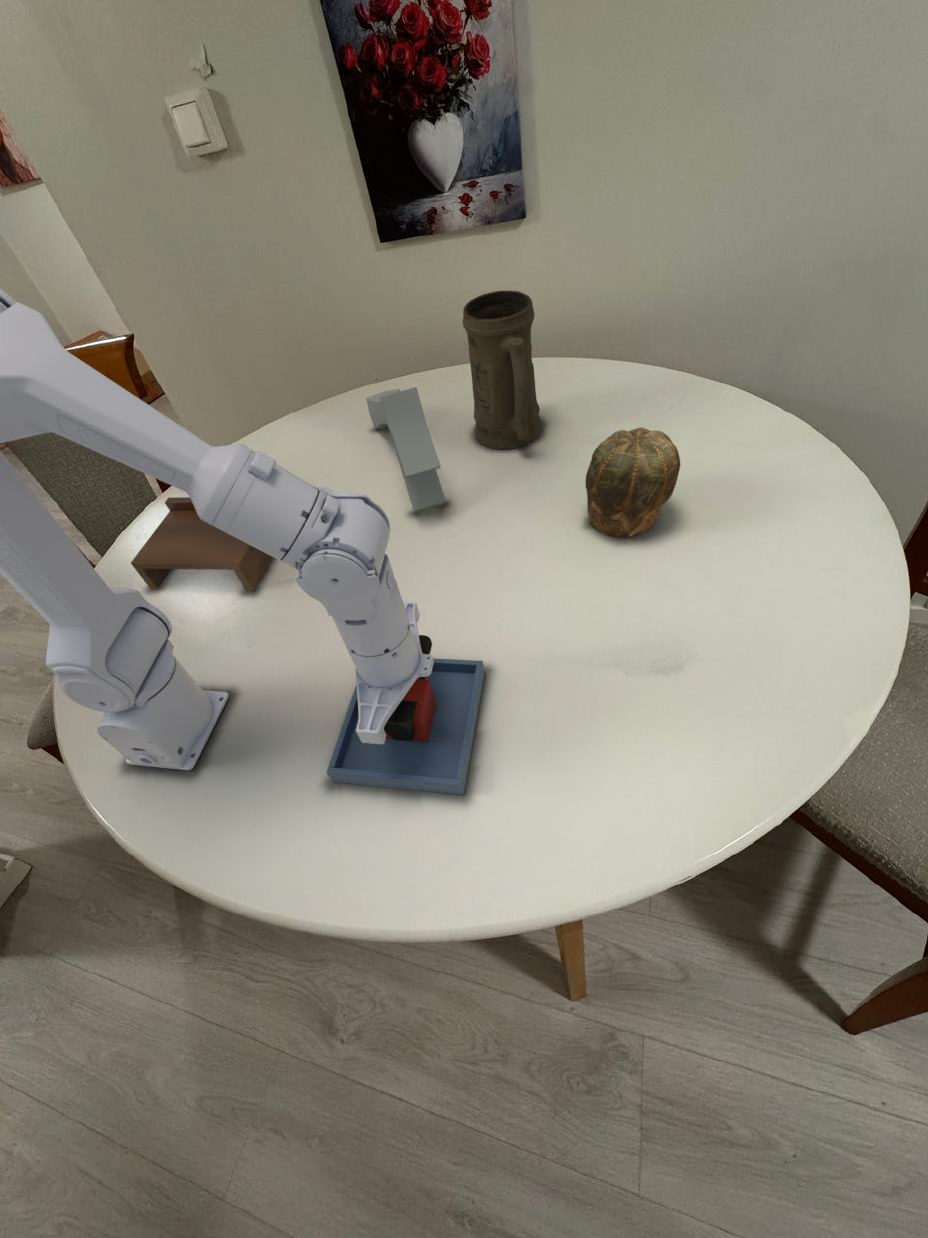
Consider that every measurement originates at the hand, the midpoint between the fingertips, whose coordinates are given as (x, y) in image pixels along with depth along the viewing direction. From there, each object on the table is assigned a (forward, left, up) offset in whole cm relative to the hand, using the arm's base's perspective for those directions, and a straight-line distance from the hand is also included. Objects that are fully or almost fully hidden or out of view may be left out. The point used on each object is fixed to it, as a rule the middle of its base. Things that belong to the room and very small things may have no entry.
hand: (409, 715), depth 59 cm
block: (0, 0, -1) cm, 1 cm away
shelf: (+24, +34, -2) cm, 42 cm away
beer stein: (+53, -5, -2) cm, 53 cm away
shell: (+33, -22, -2) cm, 40 cm away
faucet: (+46, +11, -2) cm, 47 cm away
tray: (0, 0, -2) cm, 2 cm away
